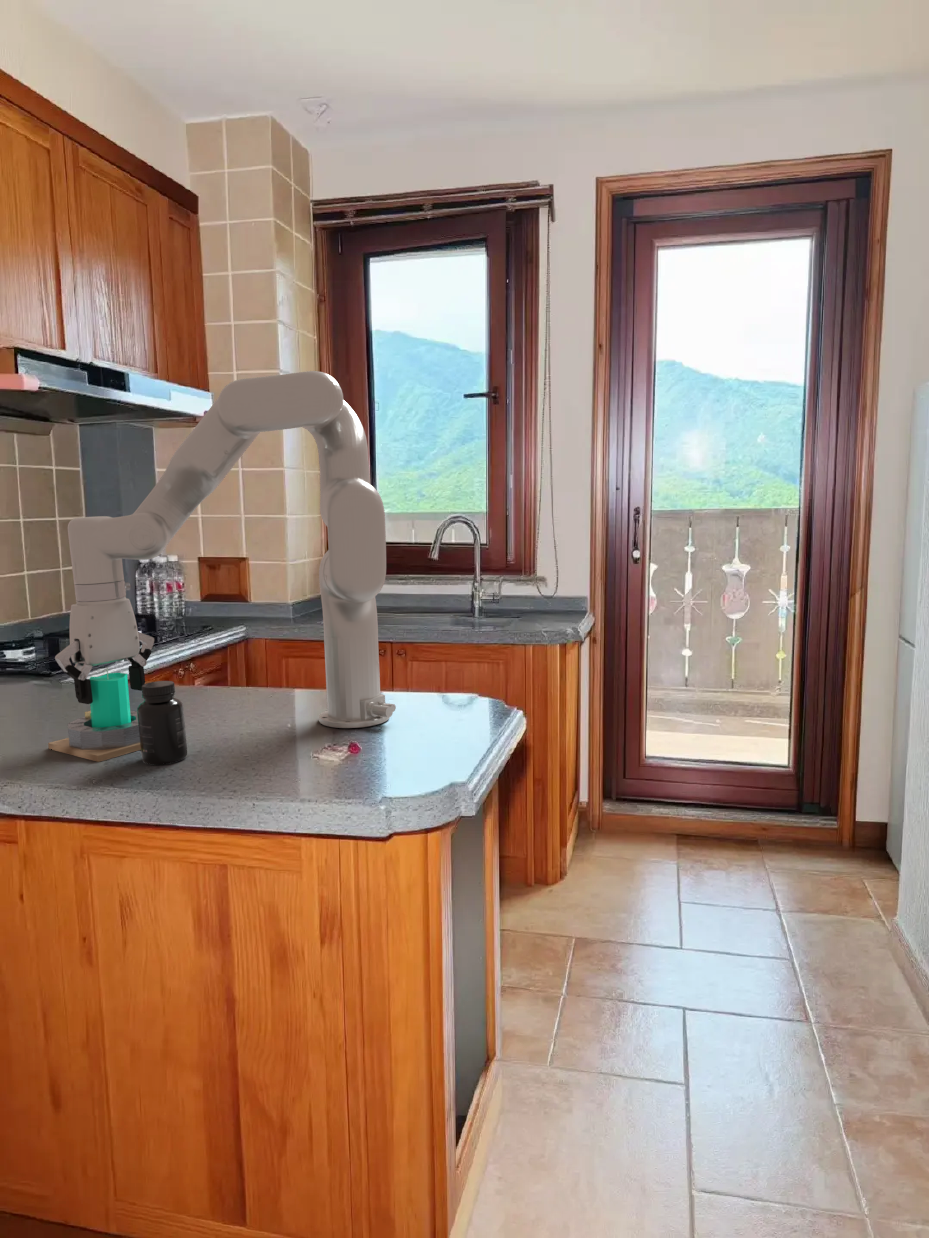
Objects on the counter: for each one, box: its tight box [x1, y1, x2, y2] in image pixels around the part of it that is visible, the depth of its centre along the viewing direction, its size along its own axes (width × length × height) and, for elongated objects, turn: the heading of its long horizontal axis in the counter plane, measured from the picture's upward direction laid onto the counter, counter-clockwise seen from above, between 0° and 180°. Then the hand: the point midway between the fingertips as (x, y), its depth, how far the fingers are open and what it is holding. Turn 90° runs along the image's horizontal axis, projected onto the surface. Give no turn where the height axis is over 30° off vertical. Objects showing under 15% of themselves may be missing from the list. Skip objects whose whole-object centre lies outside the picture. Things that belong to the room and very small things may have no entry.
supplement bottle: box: [136, 680, 188, 766], centre depth 136 cm, size 7×7×12 cm
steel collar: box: [67, 710, 140, 750], centre depth 145 cm, size 13×13×4 cm
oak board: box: [47, 737, 141, 763], centre depth 145 cm, size 14×14×1 cm
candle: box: [88, 666, 131, 727], centre depth 144 cm, size 6×6×12 cm
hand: (112, 696), depth 144 cm, fingers open, 9 cm apart
